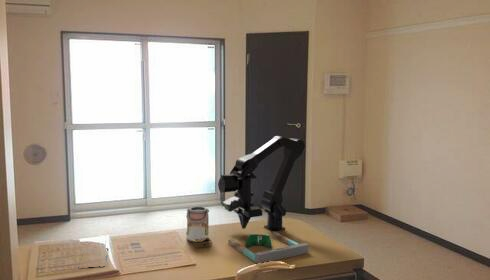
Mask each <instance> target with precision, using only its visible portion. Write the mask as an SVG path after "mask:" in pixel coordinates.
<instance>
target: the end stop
mask: <svg viewBox="0 0 490 280" xmlns="http://www.w3.org/2000/svg"><path fill="white" fill-rule="evenodd" d="M254 254H255V261H254V262H255V263H256V264H257V263H260V262H264V263H267V262H266V261H269V262H272V261H277V260H283V259H285V258H291V257H295V256H299V255H304V254H309V244H308V243H306V242H303V243H298V244H297V245H292V246H290V245H289V246H288V245H287V246H283V247H278V248H274V249H269V250H263V251H259V252H255V253H254ZM260 264H261V263H260Z"/></svg>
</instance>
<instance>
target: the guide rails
mask: <svg viewBox="0 0 490 280" xmlns="http://www.w3.org/2000/svg"><path fill="white" fill-rule="evenodd" d="M271 237H274V238H276V239H277V240H279V241H281V242H283V243H284V244H286V245H288V241H289V240H292V239H290V237H287V236H285V235H283V234H281V233H279V232H277V231H271ZM227 241H228V242H227V243H228V245H230V246H231V247H233V248H234V249H236V250H237V251H238V252H239V253H241V254H243V249H247V247H245V246H243V245H242V244H241V243H239V242H237V241H236V240H234V239H228V240H227Z"/></svg>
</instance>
